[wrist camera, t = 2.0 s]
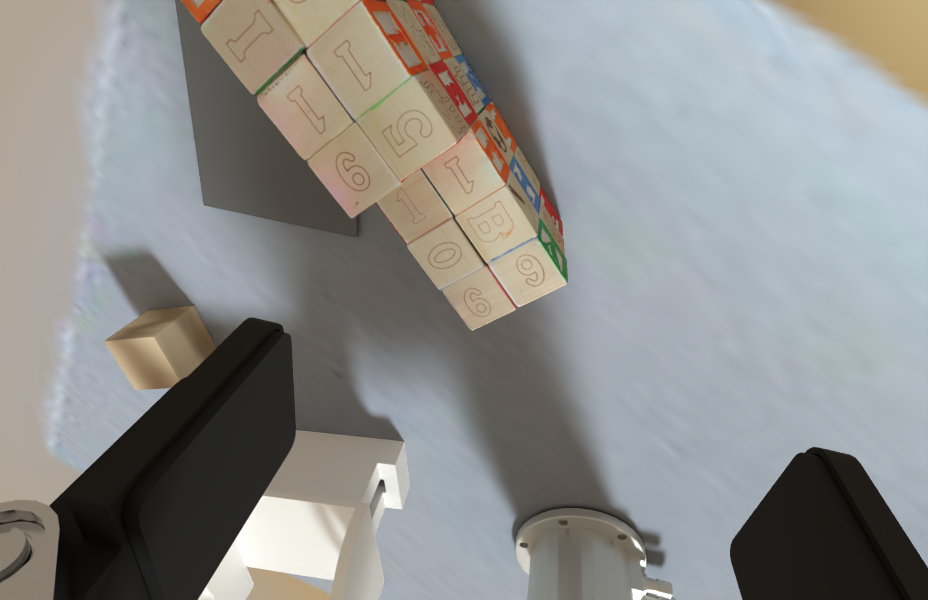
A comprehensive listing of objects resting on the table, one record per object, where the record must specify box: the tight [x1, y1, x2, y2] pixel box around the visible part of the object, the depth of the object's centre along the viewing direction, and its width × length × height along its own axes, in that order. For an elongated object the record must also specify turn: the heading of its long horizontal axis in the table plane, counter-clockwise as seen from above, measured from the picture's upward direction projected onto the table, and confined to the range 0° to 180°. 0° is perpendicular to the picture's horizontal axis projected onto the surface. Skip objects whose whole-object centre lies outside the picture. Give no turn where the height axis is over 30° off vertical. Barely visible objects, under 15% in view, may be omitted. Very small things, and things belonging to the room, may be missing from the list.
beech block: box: [104, 305, 217, 390], centre depth 42 cm, size 5×5×5 cm
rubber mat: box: [175, 0, 358, 237], centre depth 32 cm, size 12×19×1 cm, turn 172°
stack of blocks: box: [180, 0, 568, 331], centre depth 25 cm, size 21×6×12 cm, turn 34°
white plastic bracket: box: [198, 430, 410, 600], centre depth 42 cm, size 14×13×18 cm
